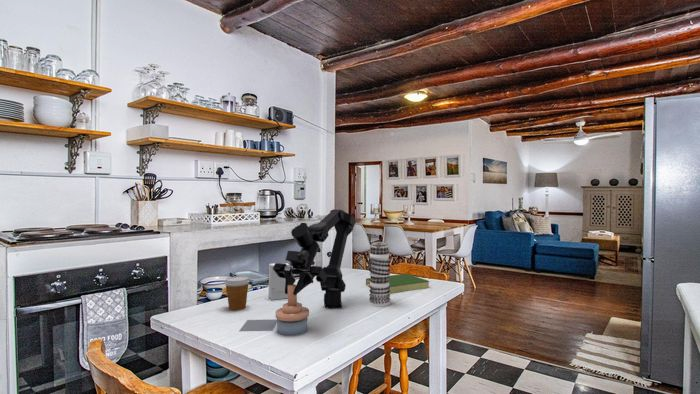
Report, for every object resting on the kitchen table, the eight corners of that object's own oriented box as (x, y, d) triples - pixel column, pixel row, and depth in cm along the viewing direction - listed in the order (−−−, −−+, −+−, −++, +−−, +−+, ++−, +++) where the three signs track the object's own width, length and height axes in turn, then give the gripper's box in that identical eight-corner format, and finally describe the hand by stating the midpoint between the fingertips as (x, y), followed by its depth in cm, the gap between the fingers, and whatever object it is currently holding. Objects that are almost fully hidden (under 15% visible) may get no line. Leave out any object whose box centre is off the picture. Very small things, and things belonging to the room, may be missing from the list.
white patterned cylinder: (370, 299, 161) (369, 240, 161) (391, 300, 159) (391, 241, 159) (366, 305, 152) (366, 243, 152) (389, 306, 150) (389, 244, 150)
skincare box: (270, 300, 160) (270, 265, 160) (268, 297, 166) (267, 263, 166) (290, 298, 164) (290, 264, 163) (287, 294, 169) (286, 261, 169)
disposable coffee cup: (229, 305, 154) (229, 275, 154) (252, 305, 154) (252, 275, 154) (221, 312, 145) (220, 281, 145) (245, 312, 144) (245, 281, 144)
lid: (302, 308, 132) (302, 280, 132) (313, 317, 122) (313, 287, 122) (271, 313, 127) (271, 283, 127) (280, 323, 118) (280, 291, 117)
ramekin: (308, 325, 130) (308, 313, 130) (306, 336, 120) (306, 323, 120) (279, 325, 130) (279, 313, 130) (274, 336, 120) (274, 323, 120)
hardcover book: (406, 280, 197) (406, 273, 197) (429, 288, 180) (429, 281, 180) (364, 286, 186) (364, 278, 186) (384, 295, 169) (384, 287, 169)
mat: (278, 320, 135) (278, 319, 135) (272, 331, 124) (272, 330, 124) (247, 320, 135) (247, 319, 135) (239, 332, 124) (239, 331, 124)
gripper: (275, 239, 132) (255, 278, 122) (322, 242, 124) (304, 283, 114) (288, 258, 139) (270, 295, 129) (333, 262, 132) (318, 302, 122)
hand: (289, 294), depth 124 cm, fingers closed on lid, 3 cm apart
